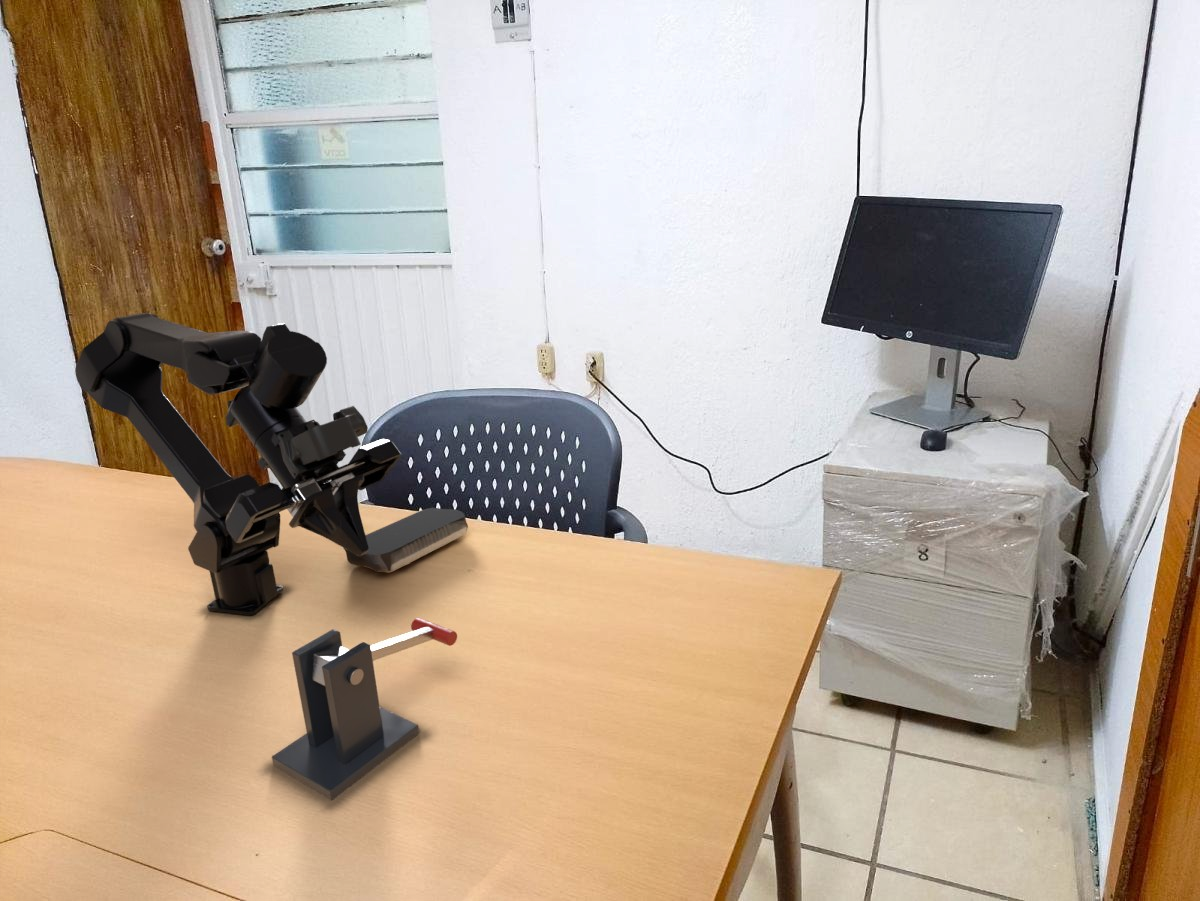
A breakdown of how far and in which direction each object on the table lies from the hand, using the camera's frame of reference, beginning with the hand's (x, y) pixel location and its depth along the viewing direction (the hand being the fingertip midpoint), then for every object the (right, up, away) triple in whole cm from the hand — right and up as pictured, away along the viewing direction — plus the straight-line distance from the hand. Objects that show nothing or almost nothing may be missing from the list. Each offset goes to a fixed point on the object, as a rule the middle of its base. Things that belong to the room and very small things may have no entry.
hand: (364, 553), depth 85 cm
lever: (+4, -9, -8) cm, 13 cm away
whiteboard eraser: (-2, -4, +28) cm, 29 cm away
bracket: (+1, -17, -10) cm, 19 cm away
